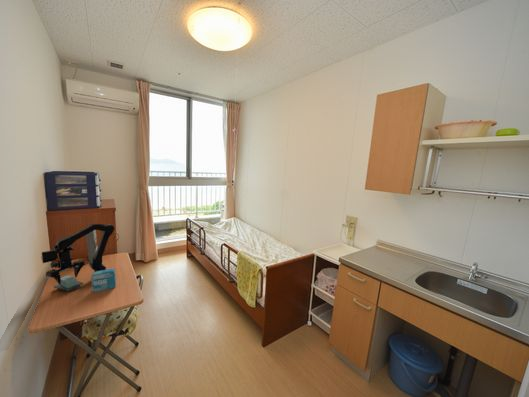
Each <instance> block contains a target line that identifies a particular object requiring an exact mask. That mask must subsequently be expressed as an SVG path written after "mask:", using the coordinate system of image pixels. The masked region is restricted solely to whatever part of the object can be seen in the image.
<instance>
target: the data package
mask: <svg viewBox="0 0 529 397" xmlns="http://www.w3.org/2000/svg"><path fill="white" fill-rule="evenodd" d="M90 279H91V288H92V292H94V293H97V292H103V291H106V290H110V289H111V290H112V289H115V287H116V284H117V279H116V271H115V269H114V268H108V269H107V268H106V269H105V270H101V271H96V272H94V271H93V272H92V274H91V278H90Z"/></svg>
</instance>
